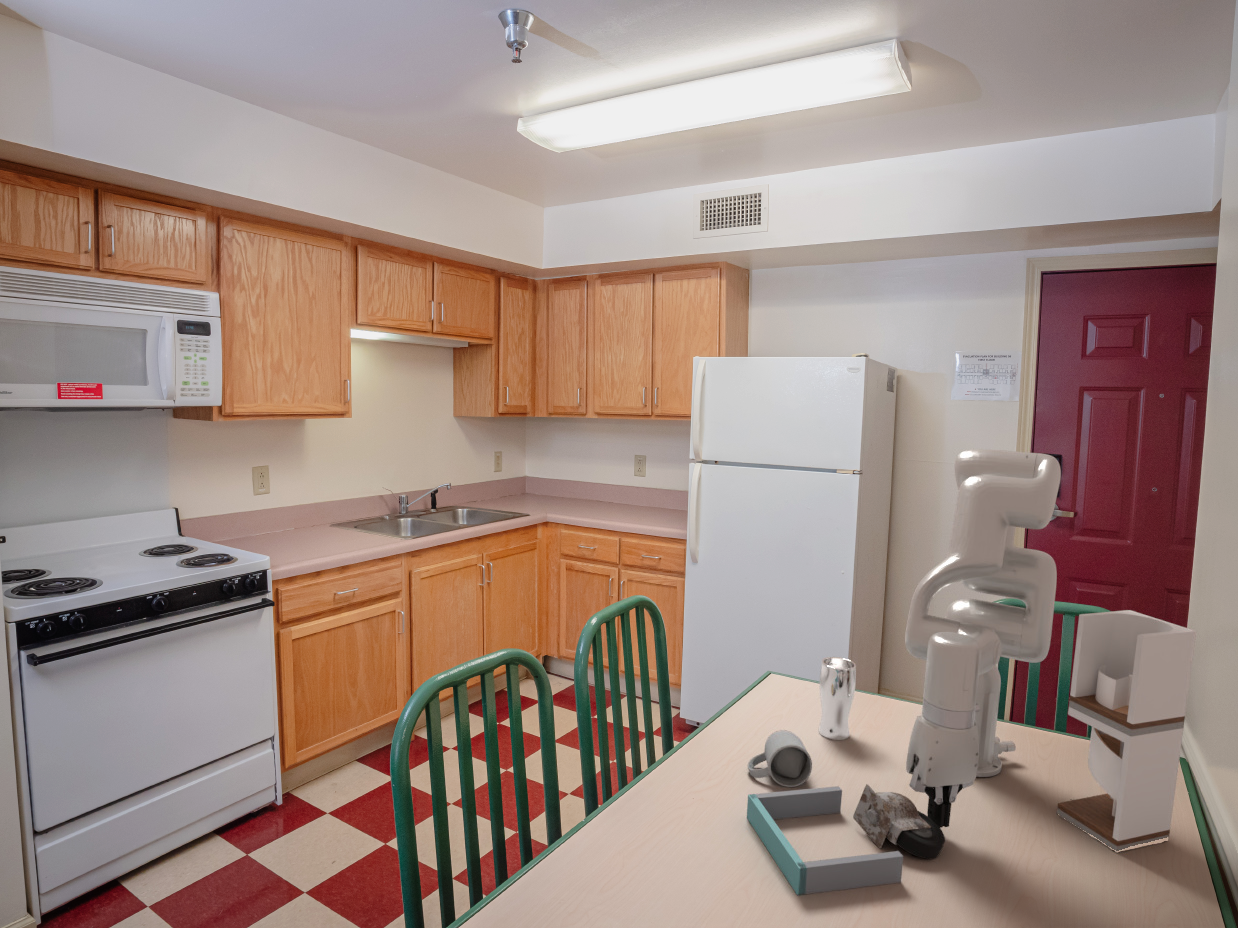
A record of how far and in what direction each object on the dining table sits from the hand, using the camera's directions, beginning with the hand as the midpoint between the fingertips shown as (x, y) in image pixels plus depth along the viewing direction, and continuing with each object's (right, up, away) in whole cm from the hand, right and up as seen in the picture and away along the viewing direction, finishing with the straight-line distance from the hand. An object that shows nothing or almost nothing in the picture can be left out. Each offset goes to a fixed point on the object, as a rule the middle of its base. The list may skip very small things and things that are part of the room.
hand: (937, 821), depth 117 cm
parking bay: (-20, -2, -4) cm, 21 cm away
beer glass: (-7, +2, +33) cm, 34 cm away
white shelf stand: (+30, -3, +4) cm, 31 cm away
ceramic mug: (-22, 0, +16) cm, 27 cm away
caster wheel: (-6, -2, -1) cm, 7 cm away
